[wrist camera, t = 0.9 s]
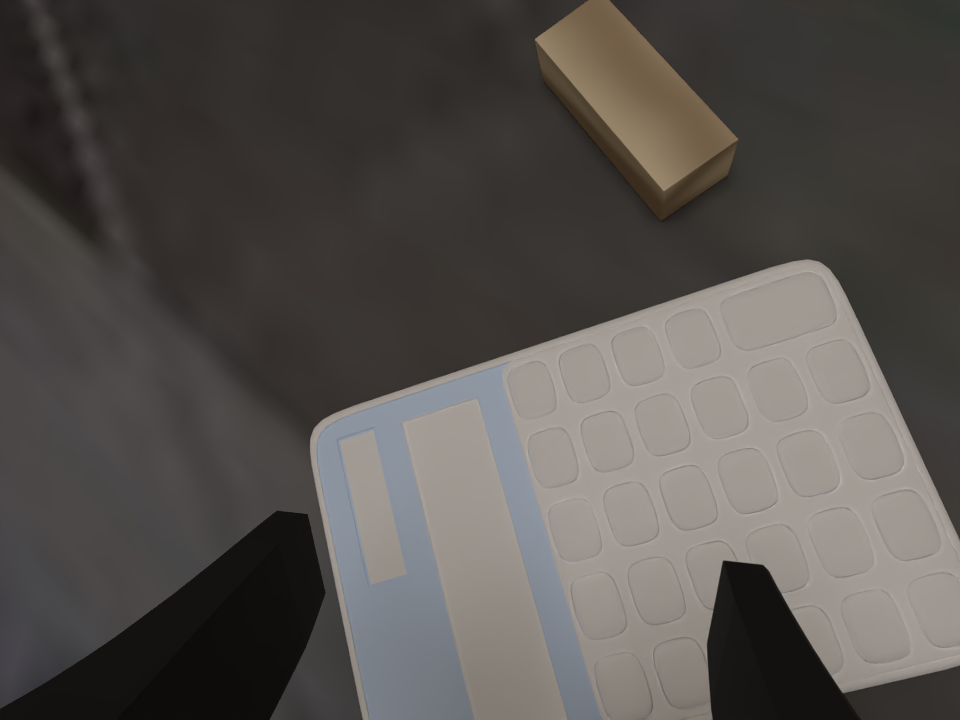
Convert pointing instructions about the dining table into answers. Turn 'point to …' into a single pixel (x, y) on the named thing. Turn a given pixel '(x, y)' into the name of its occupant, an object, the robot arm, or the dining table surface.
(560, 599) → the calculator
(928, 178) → the dining table surface
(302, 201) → the dining table surface
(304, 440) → the dining table surface
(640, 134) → the joist ends
